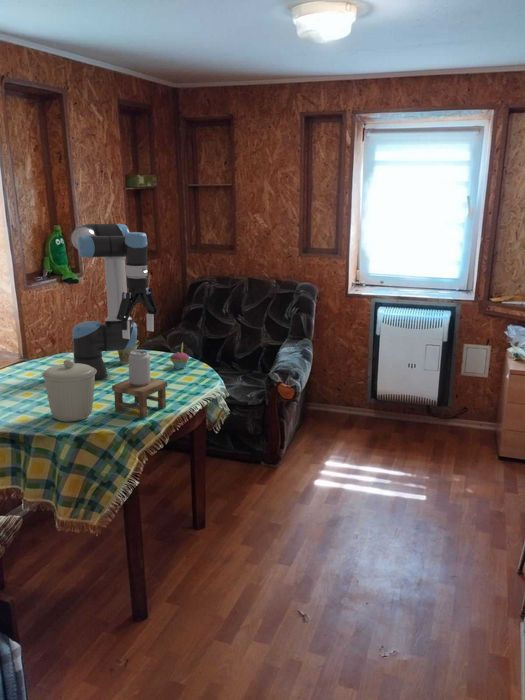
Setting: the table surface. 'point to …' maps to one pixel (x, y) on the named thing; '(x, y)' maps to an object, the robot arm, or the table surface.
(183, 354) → the cupcake
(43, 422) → the table surface
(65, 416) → the canister
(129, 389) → the stool
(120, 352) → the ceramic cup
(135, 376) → the can
